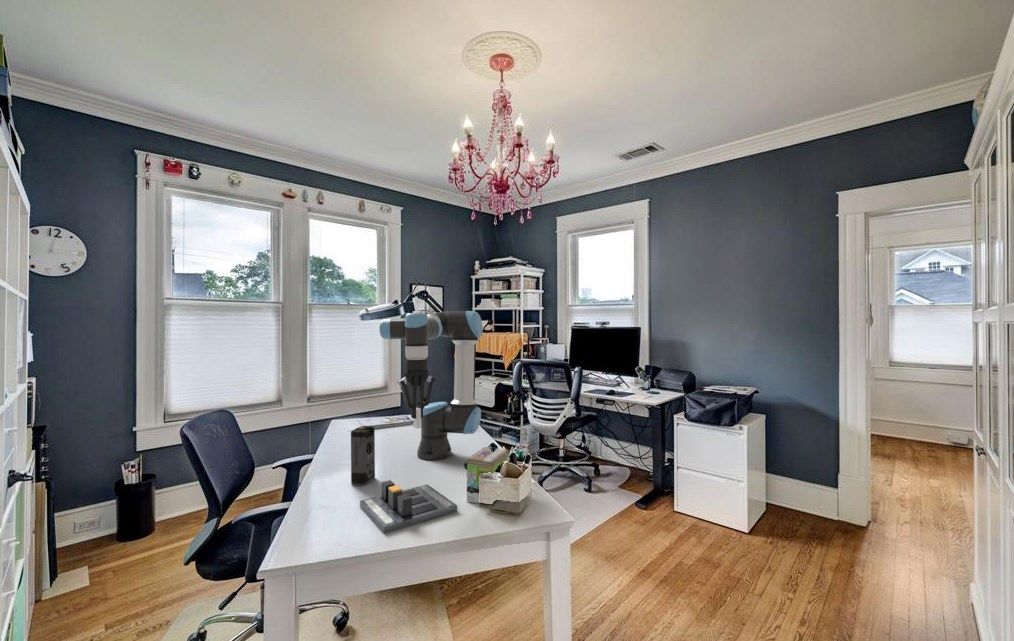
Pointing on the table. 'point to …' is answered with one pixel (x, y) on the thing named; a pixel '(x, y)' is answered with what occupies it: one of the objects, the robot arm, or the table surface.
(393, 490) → the block
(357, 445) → the electronic device
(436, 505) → the panel
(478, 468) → the tea box
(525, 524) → the table surface
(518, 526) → the table surface
